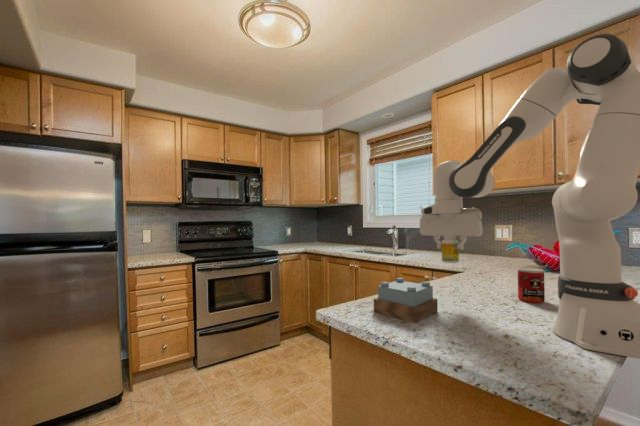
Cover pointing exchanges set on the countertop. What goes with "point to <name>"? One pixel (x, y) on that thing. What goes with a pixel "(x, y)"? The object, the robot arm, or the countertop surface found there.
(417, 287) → the top brick
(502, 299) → the countertop surface
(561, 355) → the countertop surface
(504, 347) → the countertop surface
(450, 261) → the supplement bottle
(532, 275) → the canned food
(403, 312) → the base brick
